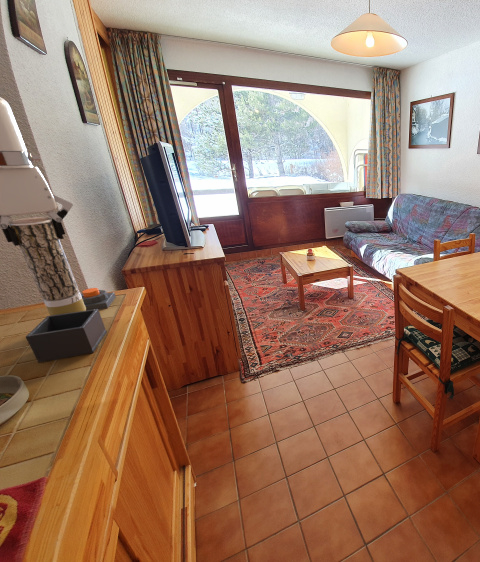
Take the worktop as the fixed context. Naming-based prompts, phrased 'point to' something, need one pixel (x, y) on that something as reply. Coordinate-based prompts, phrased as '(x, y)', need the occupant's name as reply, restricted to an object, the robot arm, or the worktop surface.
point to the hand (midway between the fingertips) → (38, 240)
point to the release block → (99, 300)
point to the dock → (67, 335)
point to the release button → (90, 292)
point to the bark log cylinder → (48, 264)
